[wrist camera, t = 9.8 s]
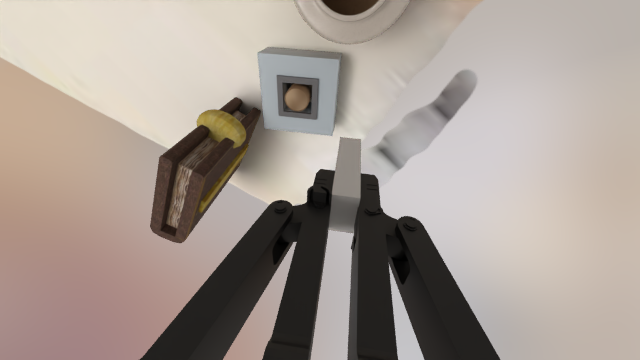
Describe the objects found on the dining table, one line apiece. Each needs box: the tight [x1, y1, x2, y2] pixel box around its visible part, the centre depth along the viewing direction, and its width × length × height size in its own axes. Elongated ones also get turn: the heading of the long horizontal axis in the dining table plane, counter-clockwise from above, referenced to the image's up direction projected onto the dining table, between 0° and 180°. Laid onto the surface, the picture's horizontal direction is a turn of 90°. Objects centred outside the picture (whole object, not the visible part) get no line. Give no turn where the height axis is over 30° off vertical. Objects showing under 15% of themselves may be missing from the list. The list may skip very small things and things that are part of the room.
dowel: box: [285, 83, 312, 112], centre depth 47 cm, size 4×4×6 cm
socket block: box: [258, 47, 342, 136], centre depth 48 cm, size 14×14×7 cm
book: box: [150, 97, 261, 243], centre depth 49 cm, size 22×8×25 cm, turn 151°
